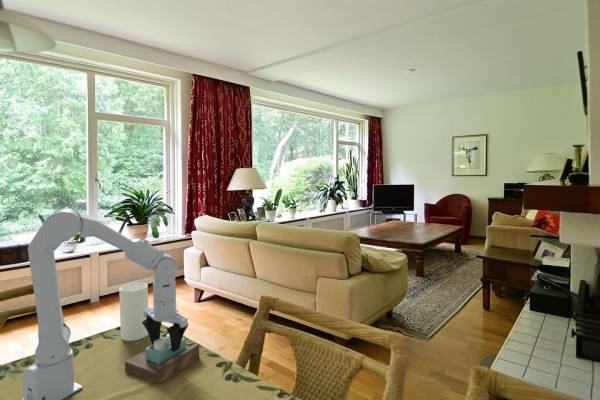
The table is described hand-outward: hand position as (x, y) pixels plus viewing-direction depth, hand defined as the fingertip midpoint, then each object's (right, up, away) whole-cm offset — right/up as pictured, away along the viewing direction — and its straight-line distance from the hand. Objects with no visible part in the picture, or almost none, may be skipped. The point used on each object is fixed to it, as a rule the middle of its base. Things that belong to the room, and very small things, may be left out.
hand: (165, 346), depth 97 cm
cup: (-16, -4, +18) cm, 25 cm away
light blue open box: (0, -3, 0) cm, 3 cm away
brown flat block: (-1, -5, +1) cm, 5 cm away
